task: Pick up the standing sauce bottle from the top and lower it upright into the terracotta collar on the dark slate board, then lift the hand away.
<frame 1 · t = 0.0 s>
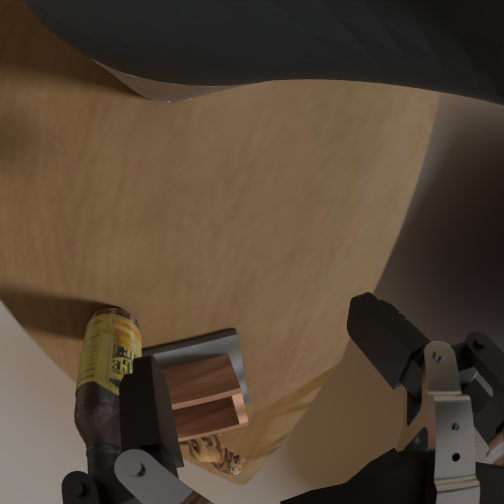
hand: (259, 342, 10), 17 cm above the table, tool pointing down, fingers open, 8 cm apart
lion figurine: (206, 431, 46), on the table
bottle holder: (190, 382, 36), on the table
sauce bottle: (113, 322, 28), on the table
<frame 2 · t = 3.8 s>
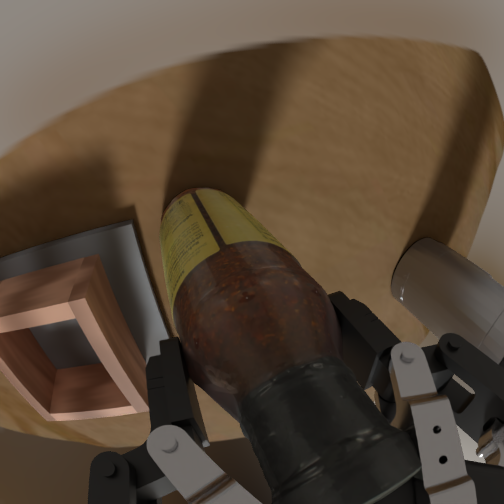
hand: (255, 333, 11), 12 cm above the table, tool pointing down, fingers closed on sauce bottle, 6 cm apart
bottle holder: (70, 321, 21), on the table
sauce bottle: (202, 222, 21), on the table, touching gripper
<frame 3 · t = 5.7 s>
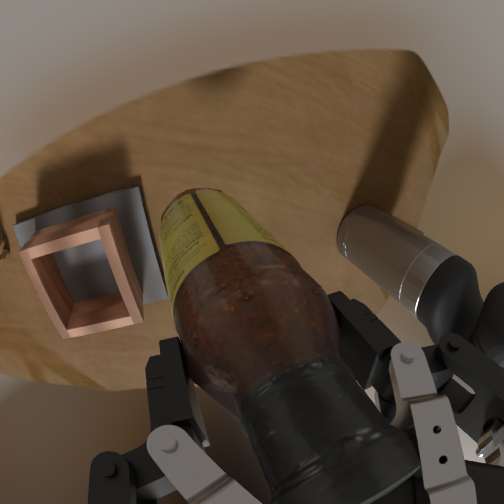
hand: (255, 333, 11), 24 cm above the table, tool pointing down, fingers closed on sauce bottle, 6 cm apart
bottle holder: (89, 260, 31), on the table
sauce bottle: (202, 222, 21), point 12 cm above the table, touching gripper
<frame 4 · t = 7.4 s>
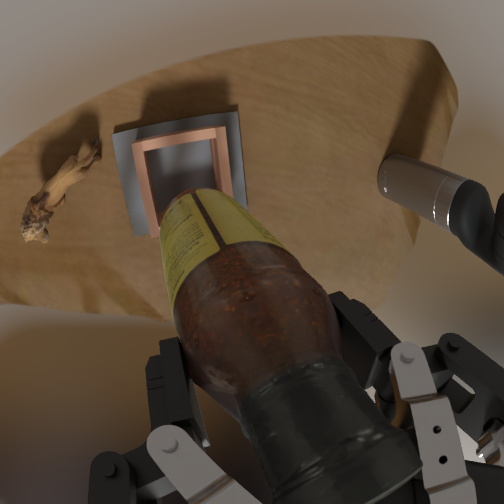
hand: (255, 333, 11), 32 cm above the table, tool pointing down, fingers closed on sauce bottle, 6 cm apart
lion figurine: (68, 183, 33), on the table
bottle holder: (181, 172, 38), on the table
sauce bottle: (202, 222, 21), point 20 cm above the table, touching gripper
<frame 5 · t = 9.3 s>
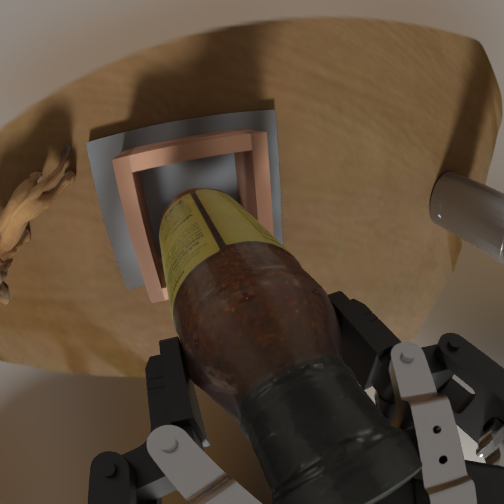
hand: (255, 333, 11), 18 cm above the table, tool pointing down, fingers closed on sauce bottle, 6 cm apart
lion figurine: (33, 212, 21), on the table
bottle holder: (191, 198, 26), on the table
sauce bottle: (202, 222, 21), point 6 cm above the table, touching gripper
when the fingers open (14 cm above the table, at t = 11.0 s): sauce bottle drops 1 cm, resting on bottle holder.
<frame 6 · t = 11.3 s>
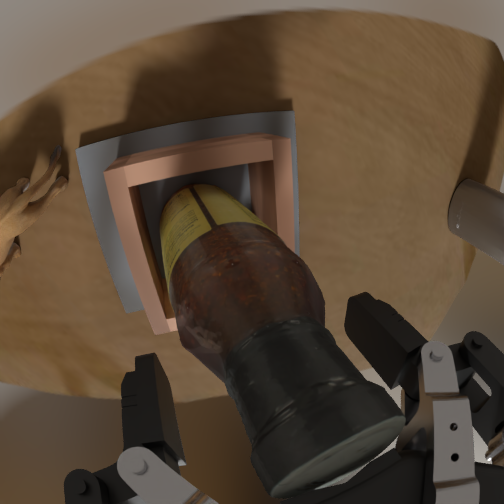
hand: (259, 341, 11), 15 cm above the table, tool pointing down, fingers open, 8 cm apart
lion figurine: (22, 223, 18), on the table
bottle holder: (198, 212, 23), on the table
sauce bottle: (200, 216, 22), point 1 cm above the table, touching bottle holder
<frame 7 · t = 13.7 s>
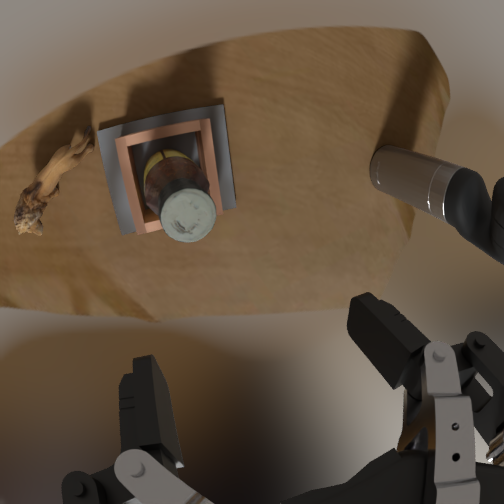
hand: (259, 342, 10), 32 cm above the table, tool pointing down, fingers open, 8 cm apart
lion figurine: (61, 174, 32), on the table
bottle holder: (168, 168, 37), on the table
sauce bottle: (168, 169, 36), point 1 cm above the table, touching bottle holder
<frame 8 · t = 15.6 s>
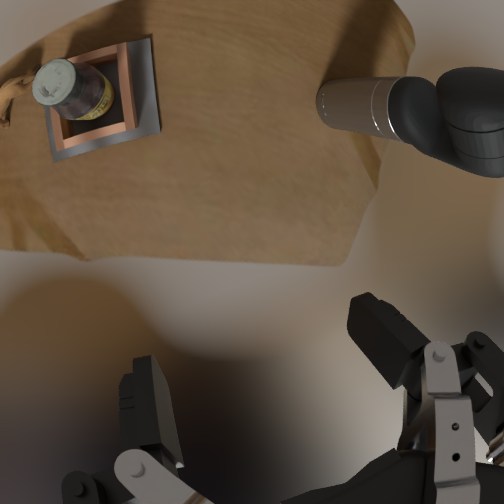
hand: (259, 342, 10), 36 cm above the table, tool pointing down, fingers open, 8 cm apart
lion figurine: (13, 109, 27), on the table
bottle holder: (98, 98, 32), on the table
sauce bottle: (96, 98, 31), point 1 cm above the table, touching bottle holder
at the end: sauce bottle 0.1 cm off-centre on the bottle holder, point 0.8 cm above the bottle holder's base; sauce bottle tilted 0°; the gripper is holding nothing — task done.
